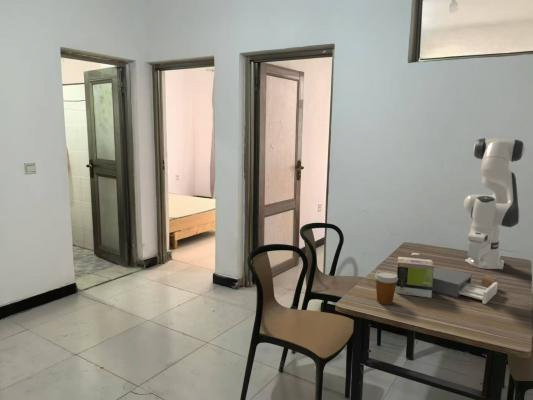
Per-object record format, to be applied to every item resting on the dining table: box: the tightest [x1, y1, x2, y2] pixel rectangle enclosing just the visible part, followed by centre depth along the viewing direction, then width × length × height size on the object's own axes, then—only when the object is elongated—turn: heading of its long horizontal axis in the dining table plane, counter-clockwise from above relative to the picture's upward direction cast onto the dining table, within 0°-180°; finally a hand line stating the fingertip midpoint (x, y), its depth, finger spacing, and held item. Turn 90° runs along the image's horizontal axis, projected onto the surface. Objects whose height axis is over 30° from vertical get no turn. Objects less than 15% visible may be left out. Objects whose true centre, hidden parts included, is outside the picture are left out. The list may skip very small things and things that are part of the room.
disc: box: [469, 259, 487, 269], centre depth 177 cm, size 6×6×2 cm
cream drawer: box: [459, 282, 498, 305], centre depth 179 cm, size 17×15×5 cm
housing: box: [432, 266, 473, 299], centre depth 187 cm, size 18×15×6 cm
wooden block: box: [480, 275, 498, 288], centre depth 187 cm, size 5×5×5 cm
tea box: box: [395, 256, 435, 299], centre depth 180 cm, size 15×10×15 cm, turn 71°
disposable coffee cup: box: [374, 270, 398, 305], centre depth 169 cm, size 10×10×12 cm
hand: (478, 264), depth 177 cm, fingers closed on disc, 6 cm apart
